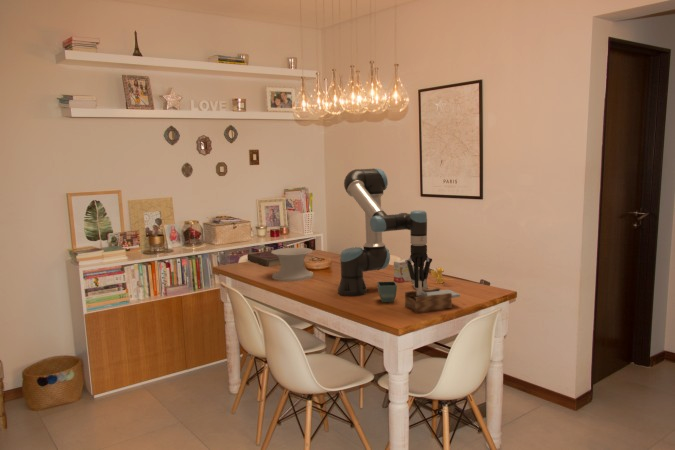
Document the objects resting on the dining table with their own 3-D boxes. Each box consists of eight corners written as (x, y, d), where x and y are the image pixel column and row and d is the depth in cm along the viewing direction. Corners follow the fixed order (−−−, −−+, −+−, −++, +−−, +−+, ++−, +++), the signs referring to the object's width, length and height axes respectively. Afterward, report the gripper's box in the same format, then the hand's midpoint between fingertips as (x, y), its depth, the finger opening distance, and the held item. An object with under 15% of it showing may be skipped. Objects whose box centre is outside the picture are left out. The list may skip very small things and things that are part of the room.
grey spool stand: (265, 280, 319) (264, 254, 317) (281, 271, 343) (281, 247, 341) (304, 282, 312) (304, 255, 309) (319, 273, 335) (318, 248, 333)
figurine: (452, 286, 293) (452, 270, 292) (430, 284, 298) (430, 268, 297) (457, 281, 304) (457, 266, 303) (436, 279, 309) (436, 264, 308)
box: (416, 313, 245) (416, 297, 244) (405, 306, 257) (405, 291, 256) (451, 308, 251) (451, 293, 250) (438, 302, 262) (438, 287, 261)
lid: (425, 301, 247) (425, 294, 246) (415, 295, 257) (415, 289, 256) (459, 296, 252) (459, 290, 252) (448, 291, 262) (448, 285, 261)
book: (296, 263, 370) (296, 255, 369) (267, 267, 358) (266, 260, 357) (275, 256, 395) (275, 250, 394) (247, 260, 383) (247, 254, 382)
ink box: (398, 282, 304) (398, 262, 302) (393, 281, 308) (393, 260, 307) (410, 280, 308) (410, 260, 307) (405, 279, 312) (405, 259, 311)
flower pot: (394, 298, 271) (394, 281, 270) (397, 303, 262) (397, 285, 261) (377, 299, 271) (377, 281, 270) (379, 304, 262) (379, 285, 261)
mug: (419, 291, 285) (419, 268, 283) (405, 286, 295) (405, 265, 293) (430, 288, 289) (430, 266, 287) (416, 284, 299) (416, 263, 297)
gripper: (409, 246, 243) (409, 297, 246) (435, 244, 247) (435, 294, 250) (402, 244, 250) (402, 293, 253) (427, 242, 254) (427, 291, 257)
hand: (419, 294), depth 251 cm, fingers closed
